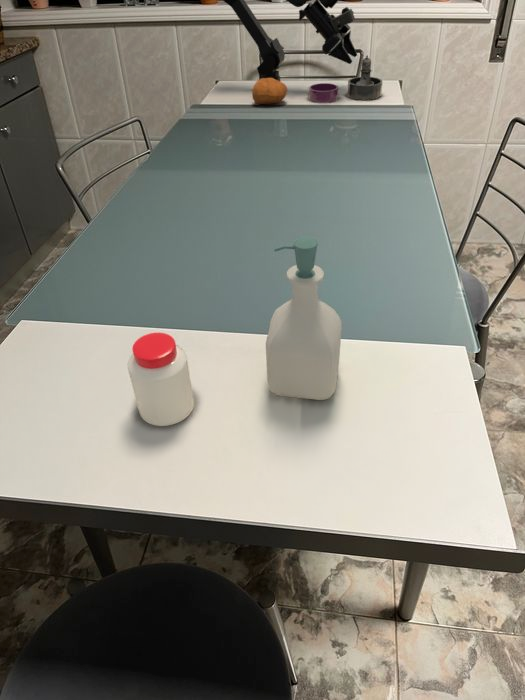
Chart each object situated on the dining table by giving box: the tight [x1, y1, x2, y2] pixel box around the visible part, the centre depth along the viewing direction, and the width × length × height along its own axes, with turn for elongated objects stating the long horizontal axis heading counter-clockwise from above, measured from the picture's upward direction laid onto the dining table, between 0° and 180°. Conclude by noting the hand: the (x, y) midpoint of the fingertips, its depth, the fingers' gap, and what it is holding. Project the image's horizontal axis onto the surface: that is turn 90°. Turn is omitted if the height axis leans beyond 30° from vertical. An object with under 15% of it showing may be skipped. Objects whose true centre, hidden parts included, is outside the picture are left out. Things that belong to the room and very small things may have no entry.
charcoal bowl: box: [346, 76, 383, 101], centre depth 185 cm, size 11×11×4 cm
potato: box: [251, 78, 288, 105], centre depth 181 cm, size 9×11×8 cm
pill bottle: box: [127, 332, 195, 427], centre depth 74 cm, size 8×8×11 cm
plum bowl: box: [308, 82, 339, 104], centre depth 184 cm, size 10×10×4 cm
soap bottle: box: [265, 236, 343, 401], centre depth 73 cm, size 10×10×23 cm
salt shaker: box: [356, 55, 374, 85], centre depth 182 cm, size 6×6×12 cm
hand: (353, 59), depth 180 cm, fingers open, 9 cm apart
